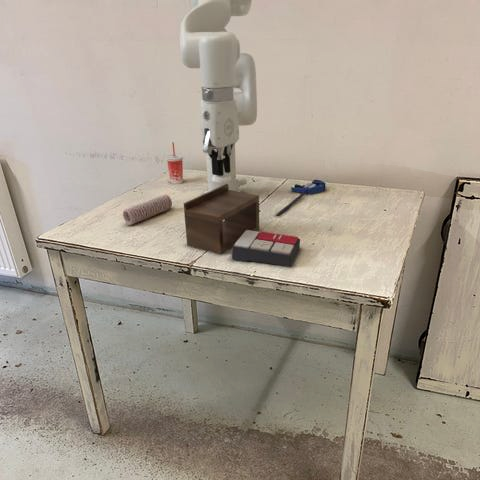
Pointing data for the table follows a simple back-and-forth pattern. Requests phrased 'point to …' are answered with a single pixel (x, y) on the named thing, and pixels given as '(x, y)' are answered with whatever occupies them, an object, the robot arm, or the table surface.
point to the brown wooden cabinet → (220, 218)
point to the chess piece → (225, 176)
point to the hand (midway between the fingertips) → (221, 172)
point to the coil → (147, 209)
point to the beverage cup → (175, 167)
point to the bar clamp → (306, 191)
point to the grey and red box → (266, 248)
